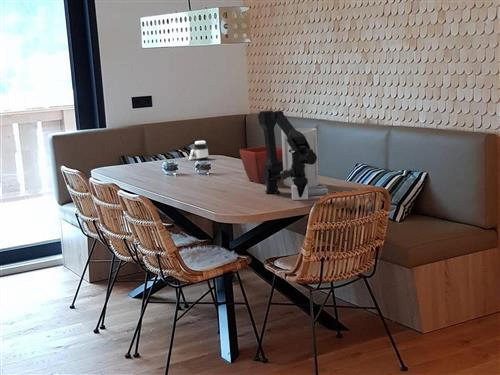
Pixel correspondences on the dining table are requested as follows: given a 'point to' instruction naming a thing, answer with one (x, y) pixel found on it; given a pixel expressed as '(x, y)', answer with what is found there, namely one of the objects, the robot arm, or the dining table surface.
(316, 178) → the paper bag
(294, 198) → the module
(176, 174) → the dining table surface
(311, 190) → the grey folded cloth
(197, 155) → the spread jar
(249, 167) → the plant pot
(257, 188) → the dining table surface
